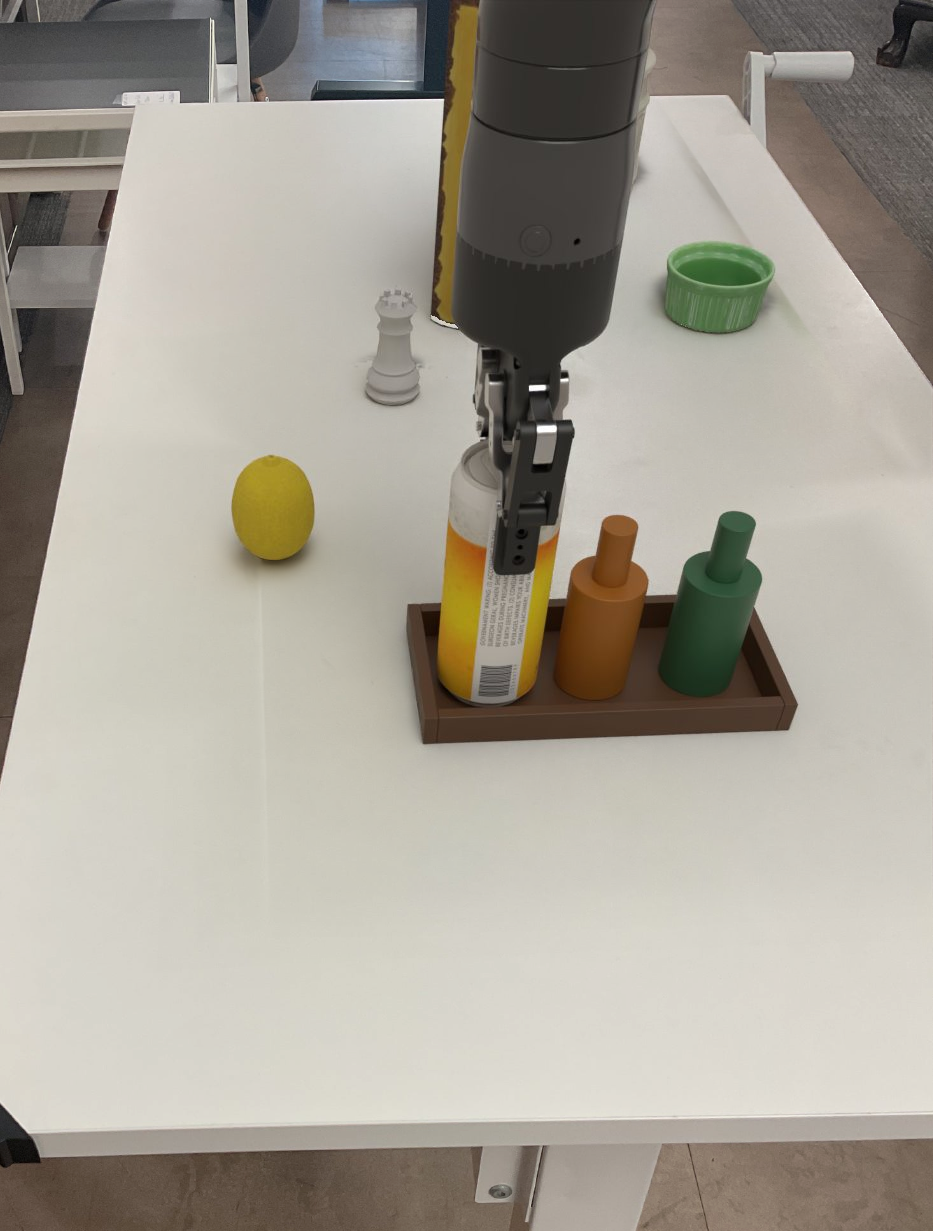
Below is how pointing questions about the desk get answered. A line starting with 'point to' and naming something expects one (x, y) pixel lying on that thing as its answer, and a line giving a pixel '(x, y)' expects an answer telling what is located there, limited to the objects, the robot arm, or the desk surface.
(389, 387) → the rook chess piece
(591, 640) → the amber bottle
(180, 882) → the desk surface
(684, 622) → the green bottle
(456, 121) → the book
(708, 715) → the tray
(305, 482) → the lemon
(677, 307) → the ramekin
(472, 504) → the beer can
